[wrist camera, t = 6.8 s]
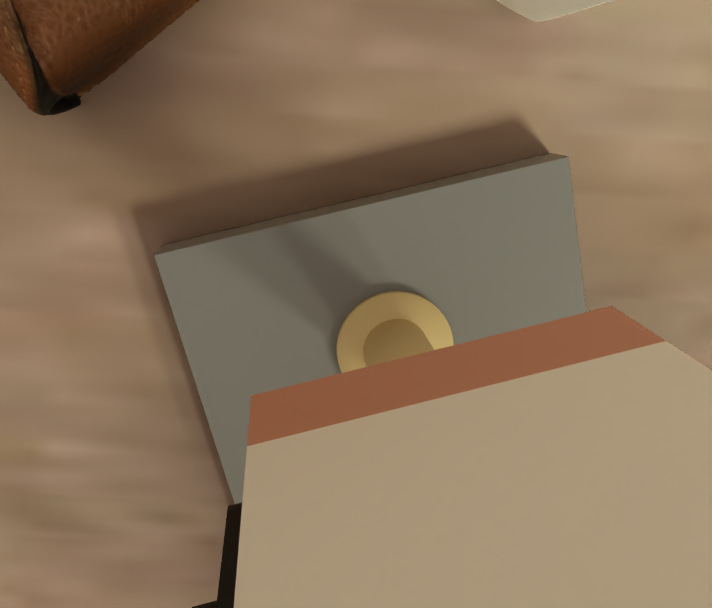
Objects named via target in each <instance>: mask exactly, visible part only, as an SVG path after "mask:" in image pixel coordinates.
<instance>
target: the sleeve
mask: <svg viewBox="0 0 712 608" xmlns="http://www.w3.org/2000/svg"><path fill="white" fill-rule="evenodd" d="M234 608H712V370H711V369H709V368H707V367H706V366H704V365H703V364H701V363H700V362H698V361H696V360H695V359H693V358H692V357H690V356H689V355H687V354H686V353H684V352H682V351H681V350H679V349H678V348H676V347H675V346H673V345H671V344H670V343H668V342H667V341H665V340H664V339H662V338H660V337H659V336H657V335H656V334H654V333H653V332H651V331H650V330H648V329H646V328H645V327H643V326H642V325H640V324H639V323H637V322H635V321H634V320H632V319H631V318H629V317H628V316H626V315H624V314H623V313H621V312H620V311H618V310H617V309H615V308H614V307H612V306H610V307H606V308H602V309H598V310H593V311H589V312H585V313H581V314H577V315H573V316H569V317H565V318H561V319H557V320H553V321H549V322H545V323H541V324H537V325H533V326H529V327H525V328H521V329H517V330H513V331H509V332H505V333H501V334H497V335H493V336H489V337H485V338H481V339H477V340H473V341H469V342H465V343H461V344H457V345H453V346H449V347H445V348H441V349H437V350H433V351H429V352H424V353H420V354H416V355H412V356H408V357H404V358H400V359H396V360H392V361H388V362H384V363H380V364H376V365H372V366H368V367H364V368H360V369H356V370H352V371H348V372H344V373H340V374H336V375H332V376H328V377H324V378H320V379H316V380H312V381H308V382H304V383H300V384H296V385H292V386H288V387H284V388H280V389H276V390H272V391H268V392H264V393H260V394H255V395H251V403H250V416H249V428H248V440H247V452H246V464H245V476H244V488H243V500H242V512H241V525H240V537H239V549H238V561H237V573H236V585H235V597H234Z"/></svg>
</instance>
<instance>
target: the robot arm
mask: <svg viewBox="0 0 712 608" xmlns="http://www.w3.org/2000/svg"><path fill="white" fill-rule="evenodd" d="M241 512H242V502H241V503H237V504H233V505H230V506H229V507H228V511H227V519H226V528H225V536H224V545H223V554H222V562H221V571H220V580H219V588H218V597H217V601H213V602H210V603H206V604H202V605H198V606H194V607H192V608H234V597H235V585H236V573H237V561H238V549H239V537H240V525H241Z"/></svg>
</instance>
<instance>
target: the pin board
mask: <svg viewBox="0 0 712 608" xmlns="http://www.w3.org/2000/svg"><path fill="white" fill-rule="evenodd" d="M154 257H155V260H156V263H157V266H158V269H159V272H160V275H161V278H162V282H163V285H164V288H165V291H166V294H167V297H168V300H169V303H170V306H171V309H172V312H173V315H174V319H175V322H176V325H177V328H178V331H179V334H180V337H181V340H182V343H183V346H184V349H185V353H186V356H187V359H188V362H189V365H190V368H191V371H192V374H193V377H194V380H195V383H196V386H197V390H198V393H199V396H200V399H201V402H202V405H203V408H204V411H205V414H206V417H207V420H208V423H209V427H210V430H211V433H212V436H213V439H214V442H215V445H216V448H217V451H218V454H219V457H220V461H221V464H222V467H223V470H224V473H225V476H226V479H227V482H228V485H229V488H230V491H231V494H232V498H233V501H234V504H237V503H241V502H242V500H243V488H244V476H245V464H246V452H247V440H248V428H249V416H250V403H251V395H255V394H260V393H264V392H268V391H272V390H276V389H280V388H284V387H288V386H292V385H296V384H300V383H304V382H308V381H312V380H316V379H320V378H324V377H328V376H332V375H336V374H340V373H344V372H348V371H352V370H356V369H360V368H364V367H368V366H372V365H376V364H380V363H384V362H388V361H392V360H396V359H400V358H404V357H408V356H412V355H416V354H420V353H424V352H429V351H433V350H437V349H441V348H445V347H449V346H453V345H457V344H461V343H465V342H469V341H473V340H477V339H481V338H485V337H489V336H493V335H497V334H501V333H505V332H509V331H513V330H517V329H521V328H525V327H529V326H533V325H537V324H541V323H545V322H549V321H553V320H557V319H561V318H565V317H569V316H573V315H577V314H581V313H585V312H586V304H585V295H584V287H583V278H582V269H581V261H580V252H579V243H578V234H577V226H576V217H575V208H574V200H573V191H572V182H571V173H570V165H569V157H567V156H562V155H557V154H552V153H550V154H546V155H541V156H537V157H533V158H529V159H524V160H520V161H516V162H512V163H508V164H503V165H499V166H495V167H491V168H486V169H482V170H478V171H474V172H470V173H465V174H461V175H457V176H453V177H449V178H444V179H440V180H436V181H432V182H427V183H423V184H419V185H415V186H411V187H406V188H402V189H398V190H394V191H389V192H385V193H381V194H377V195H373V196H368V197H364V198H360V199H356V200H352V201H347V202H343V203H339V204H335V205H330V206H326V207H322V208H318V209H314V210H309V211H305V212H301V213H297V214H292V215H288V216H284V217H280V218H276V219H271V220H267V221H263V222H259V223H255V224H250V225H246V226H242V227H238V228H233V229H229V230H225V231H221V232H217V233H212V234H208V235H204V236H200V237H195V238H191V239H187V240H183V241H179V242H174V243H170V244H166V245H162V246H161V247H160V249H159V250H158V251H157V252H156V254H155V255H154Z"/></svg>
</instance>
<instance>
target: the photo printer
mask: <svg viewBox="0 0 712 608" xmlns="http://www.w3.org/2000/svg"><path fill="white" fill-rule="evenodd" d="M496 1H497V2H499V3H500V4H502V5H504V6H505V7H507V8H508V9H510V10H512V11H513V12H515V13H517V14H519V15H521V16H523V17H525V18H527V19H529V20H531V21H535V22H544V21H548V20H551V19H554V18H558V17H561V16H565V15H569V14H572V13H575V12H579V11H582V10H585V9H588V8H591V7H594V6H598V5H601V4H604V3H607V2H611V1H614V0H496Z"/></svg>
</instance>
